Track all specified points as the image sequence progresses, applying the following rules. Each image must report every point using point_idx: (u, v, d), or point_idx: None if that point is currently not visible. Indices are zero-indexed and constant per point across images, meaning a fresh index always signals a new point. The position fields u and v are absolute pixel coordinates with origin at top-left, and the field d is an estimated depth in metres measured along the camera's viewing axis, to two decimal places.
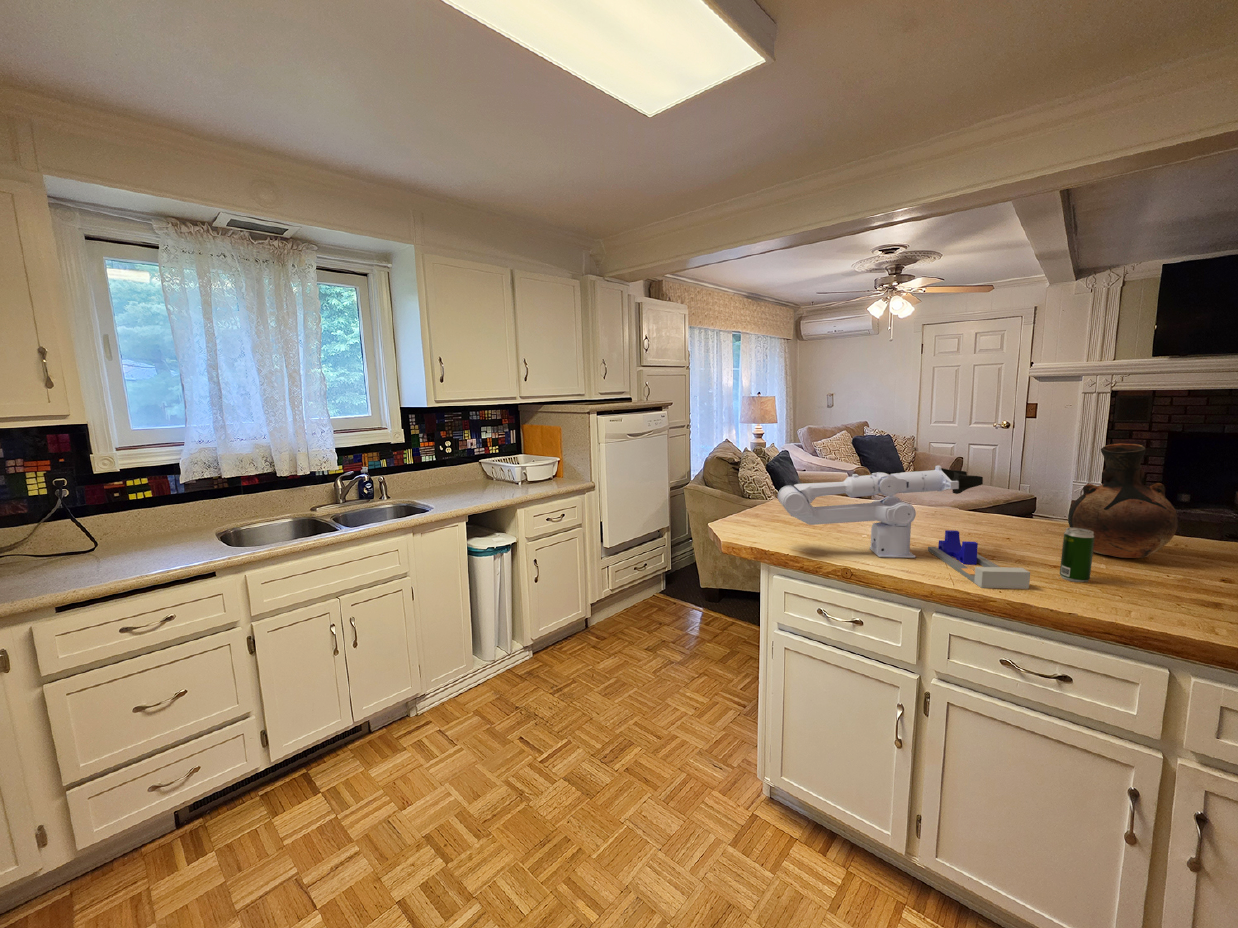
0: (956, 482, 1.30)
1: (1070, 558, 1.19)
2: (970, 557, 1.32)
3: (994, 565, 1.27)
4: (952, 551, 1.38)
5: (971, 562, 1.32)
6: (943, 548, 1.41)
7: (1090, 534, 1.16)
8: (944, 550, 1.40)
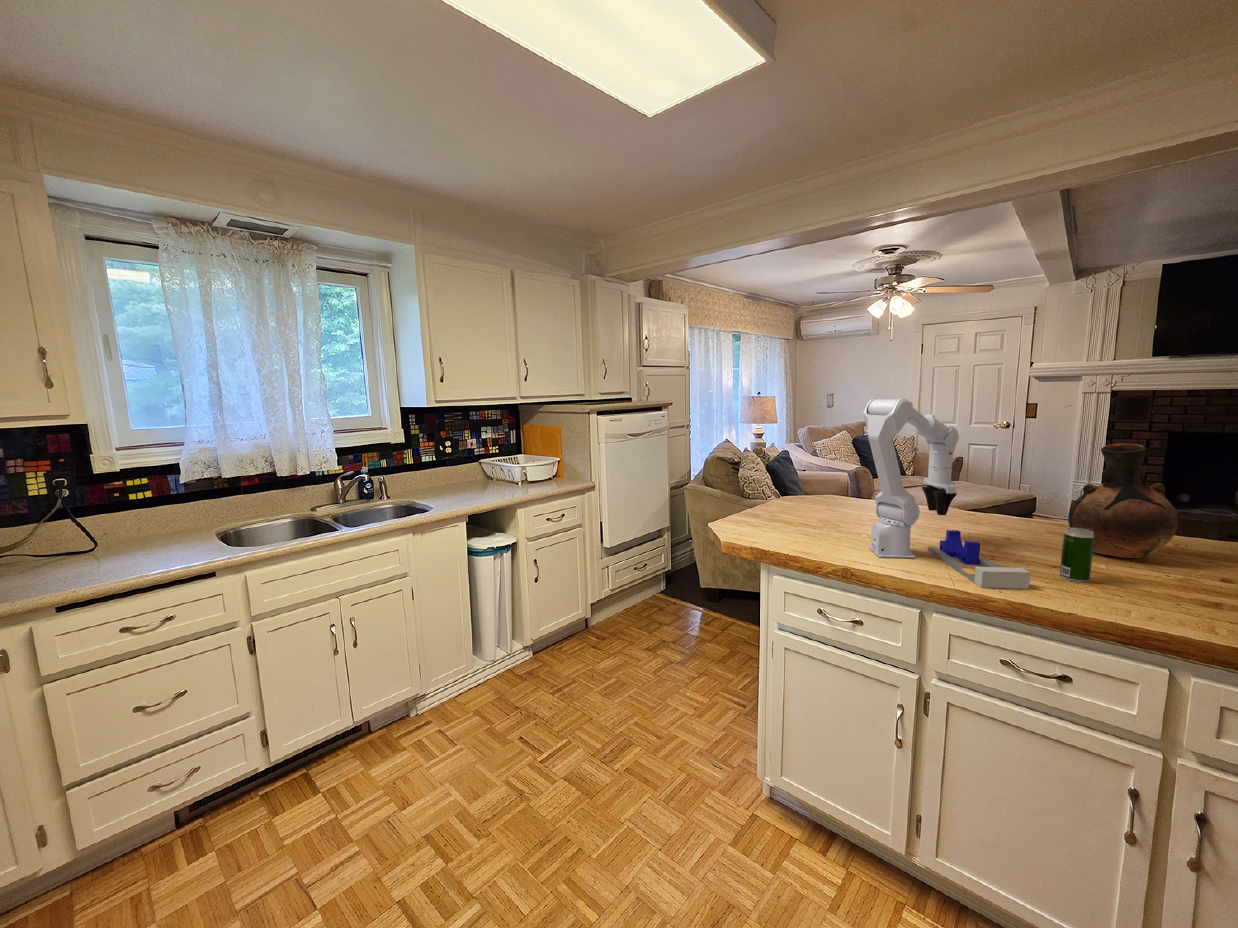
0: (954, 491, 1.40)
1: (1070, 558, 1.19)
2: (972, 557, 1.31)
3: (994, 565, 1.27)
4: (954, 551, 1.38)
5: (973, 562, 1.32)
6: (945, 548, 1.40)
7: (1090, 534, 1.16)
8: (946, 550, 1.40)
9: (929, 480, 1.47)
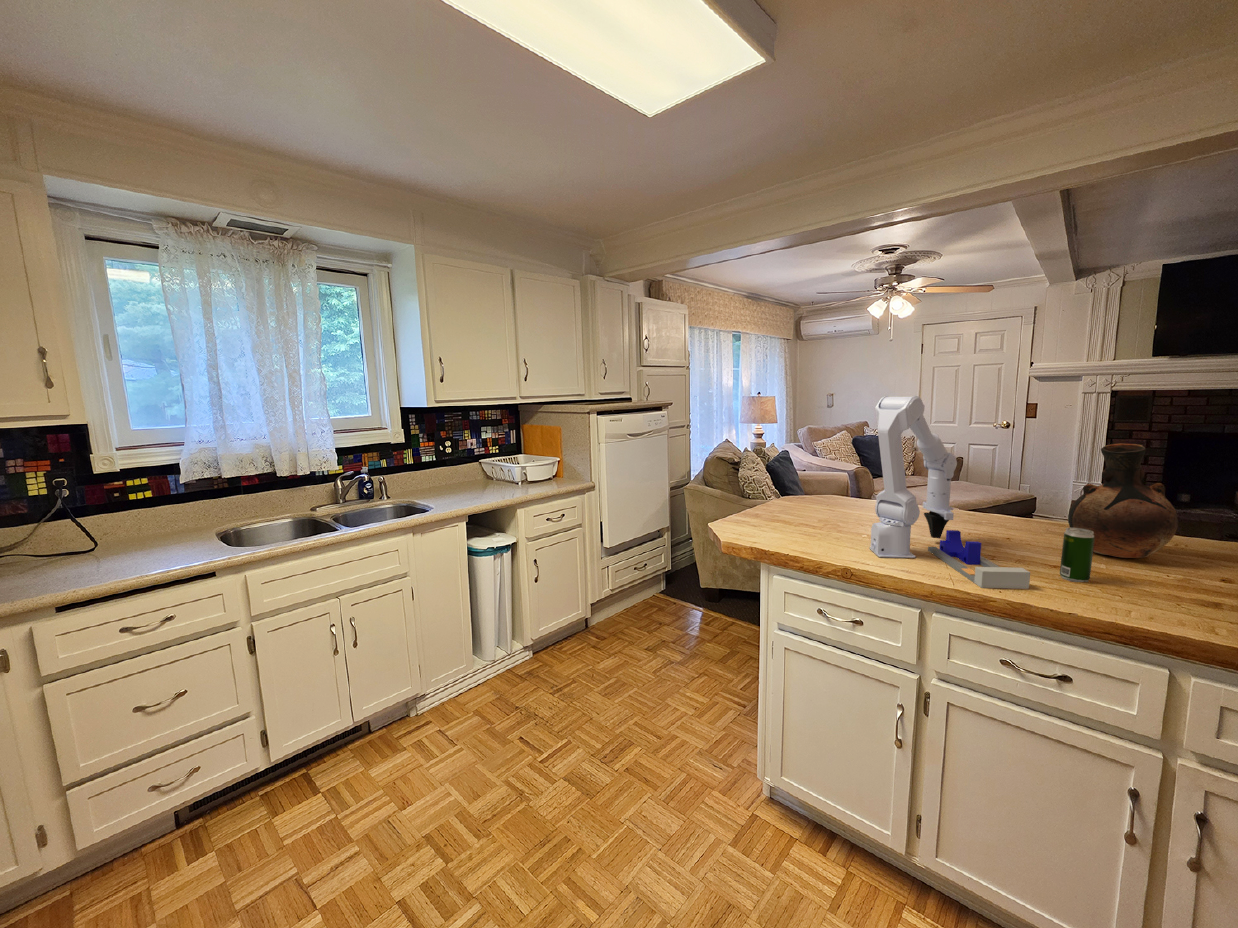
0: (952, 518, 1.41)
1: (1070, 558, 1.19)
2: (974, 557, 1.31)
3: (994, 565, 1.27)
4: (954, 551, 1.38)
5: (975, 562, 1.32)
6: (945, 548, 1.40)
7: (1090, 534, 1.16)
8: (946, 550, 1.40)
9: (927, 505, 1.48)
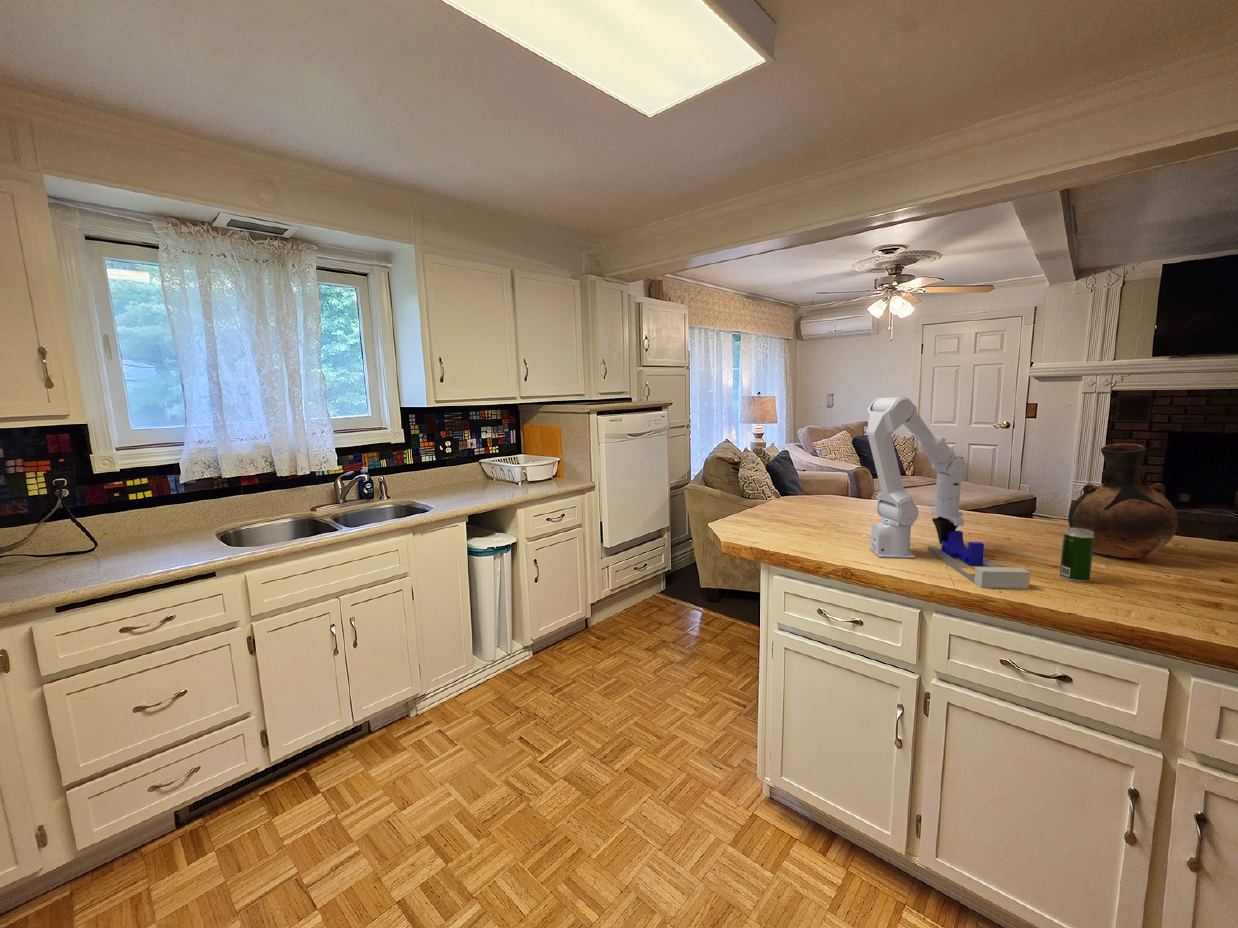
0: (962, 524, 1.36)
1: (1070, 558, 1.19)
2: (976, 558, 1.30)
3: (994, 565, 1.27)
4: (957, 552, 1.37)
5: (977, 563, 1.30)
6: (947, 549, 1.39)
7: (1090, 534, 1.16)
8: (948, 551, 1.39)
9: (936, 510, 1.43)
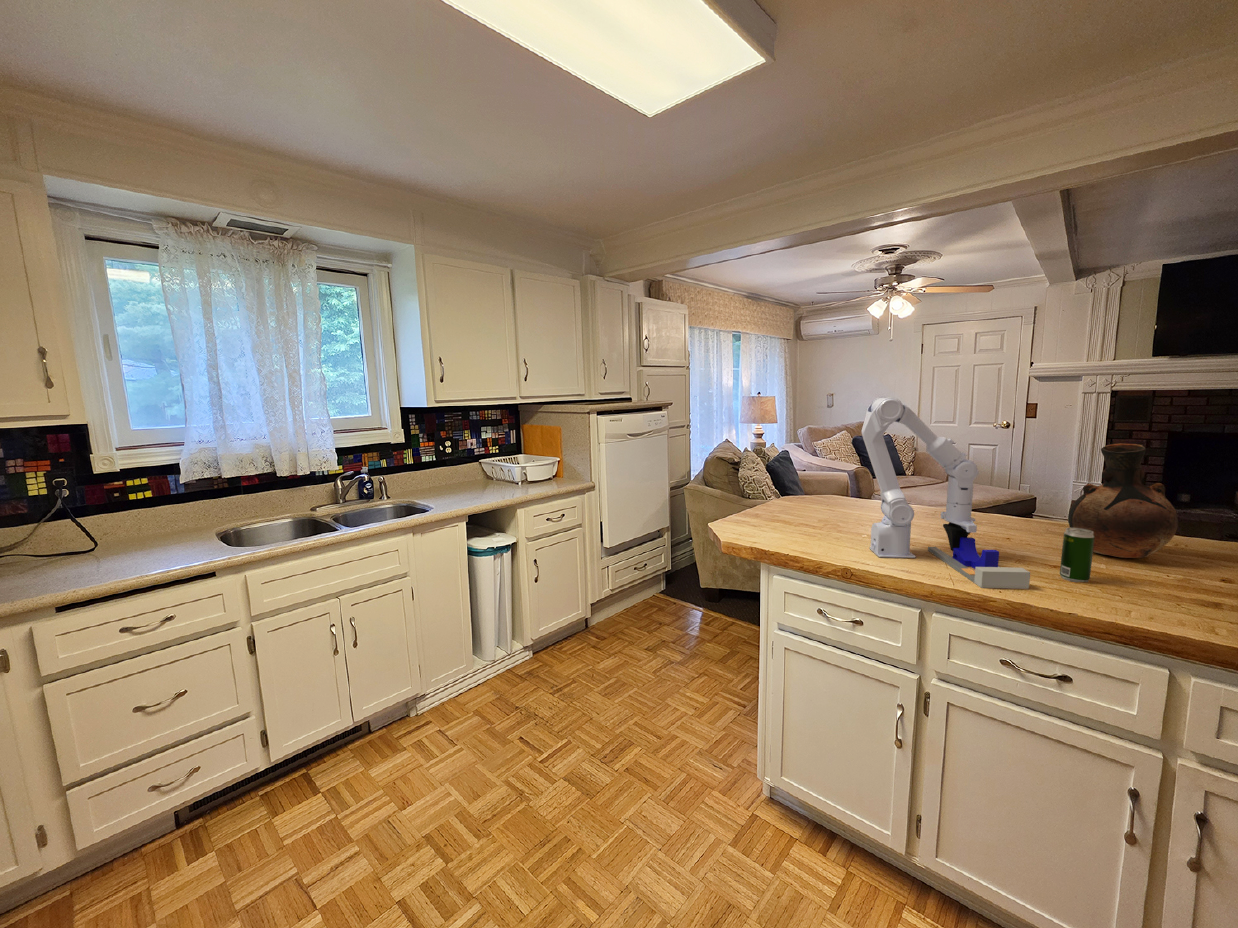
0: (975, 530, 1.30)
1: (1070, 558, 1.19)
2: (991, 566, 1.24)
3: None
4: (969, 559, 1.31)
5: None
6: (959, 556, 1.33)
7: (1090, 534, 1.16)
8: (960, 558, 1.32)
9: (947, 516, 1.36)
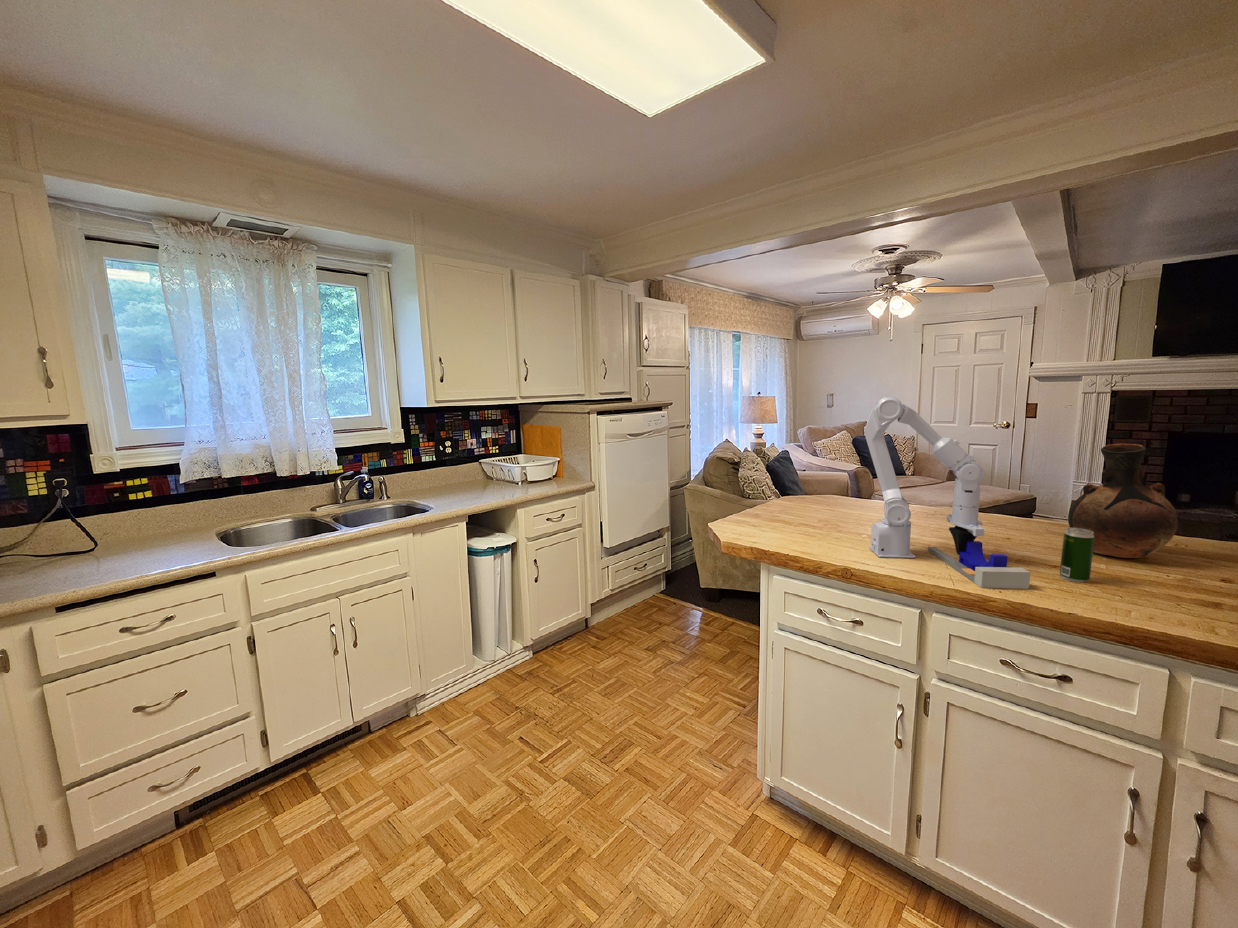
0: (982, 534, 1.26)
1: (1070, 558, 1.19)
2: None
3: None
4: (976, 564, 1.28)
5: None
6: (966, 561, 1.30)
7: (1090, 534, 1.16)
8: (967, 563, 1.29)
9: (953, 519, 1.33)
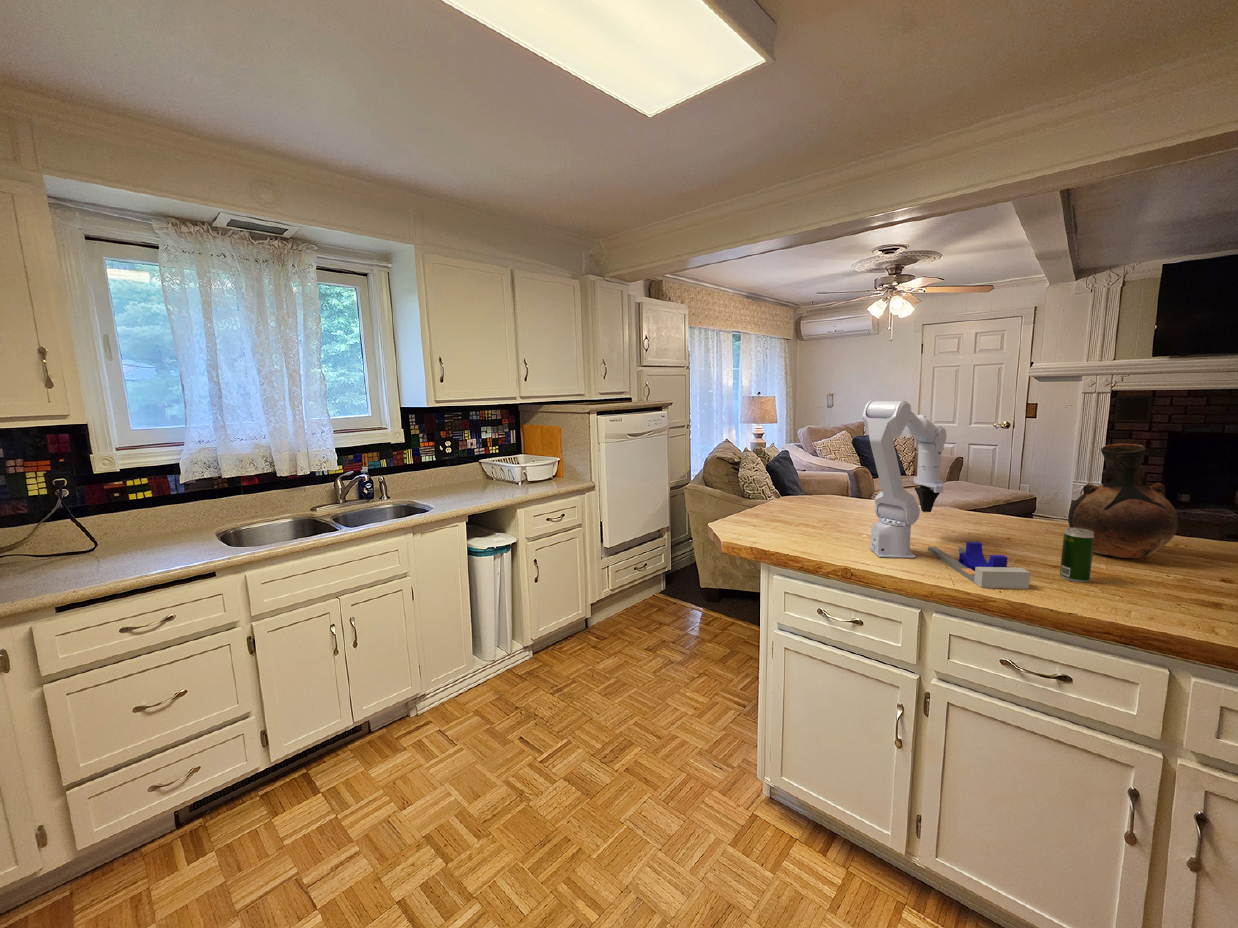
0: (942, 490, 1.41)
1: (1070, 558, 1.19)
2: None
3: None
4: (976, 565, 1.28)
5: None
6: (966, 561, 1.30)
7: (1090, 534, 1.16)
8: (967, 564, 1.29)
9: (918, 479, 1.48)
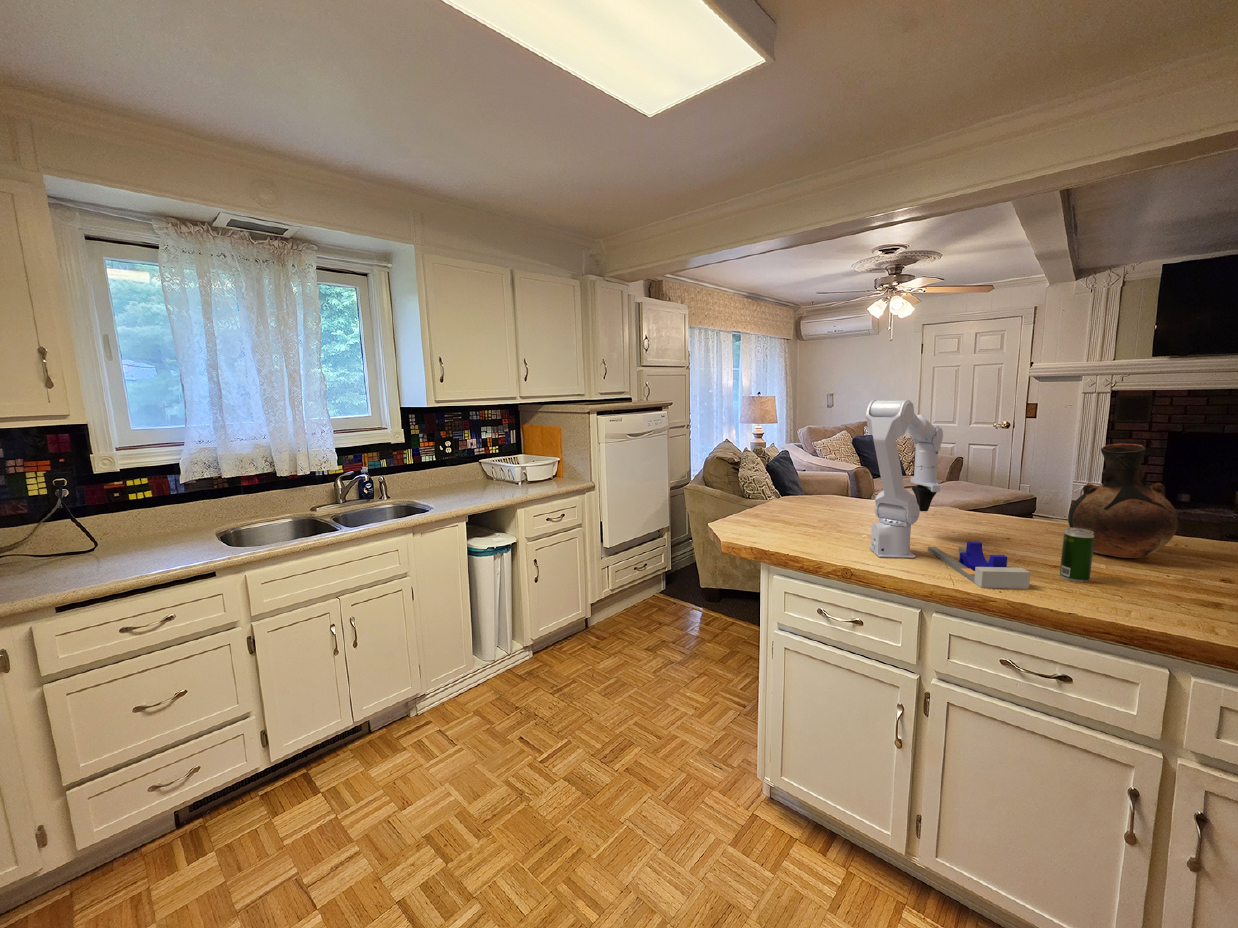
0: (939, 490, 1.42)
1: (1070, 558, 1.19)
2: None
3: None
4: (976, 565, 1.28)
5: None
6: (966, 561, 1.30)
7: (1090, 534, 1.16)
8: (967, 563, 1.29)
9: (915, 479, 1.49)
